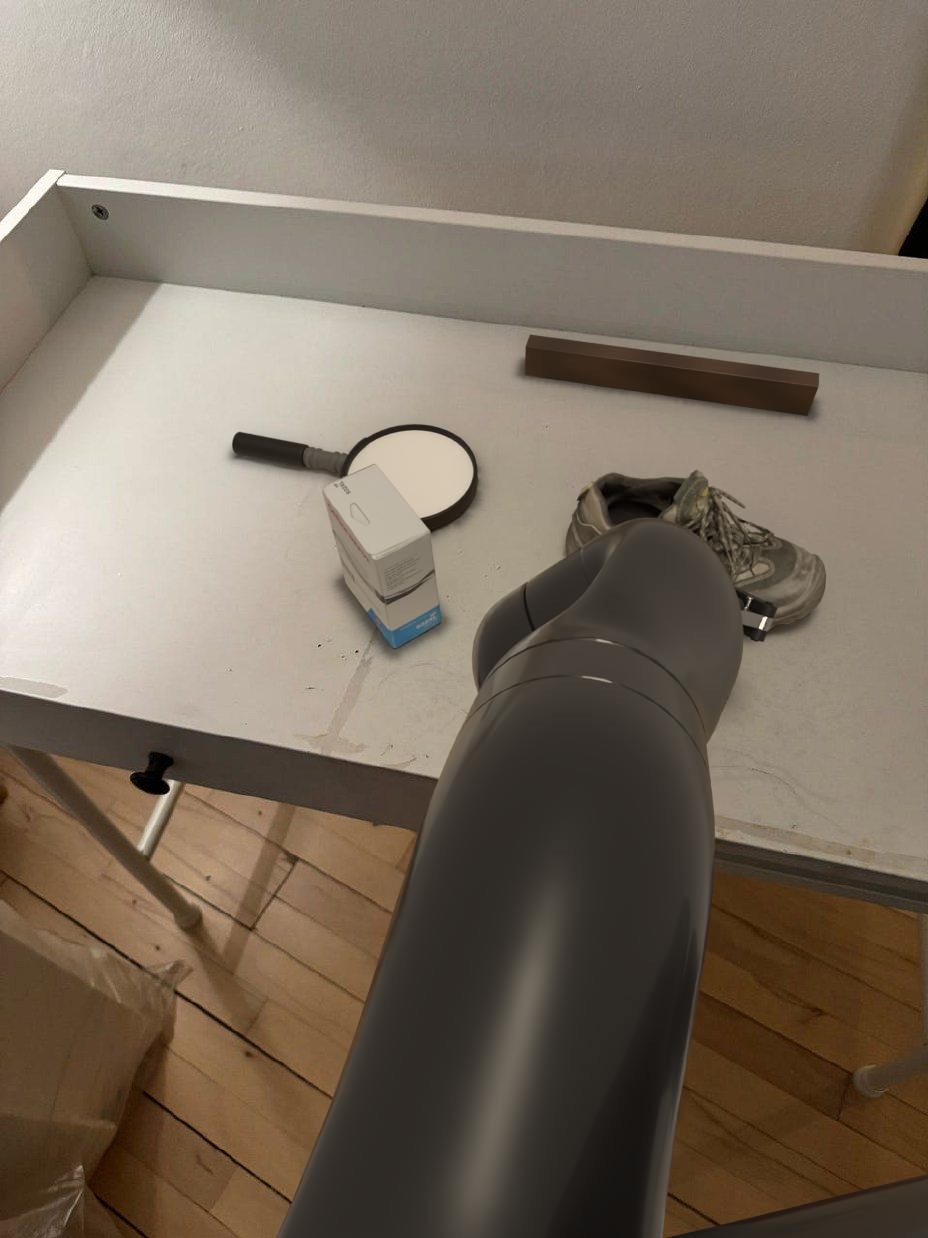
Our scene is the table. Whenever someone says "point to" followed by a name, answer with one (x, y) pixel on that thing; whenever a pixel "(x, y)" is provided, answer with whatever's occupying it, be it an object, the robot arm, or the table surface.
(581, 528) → the hiking shoe
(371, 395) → the table surface
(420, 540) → the ink box
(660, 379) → the brown rectangular bar
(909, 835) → the table surface
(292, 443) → the magnifying glass
